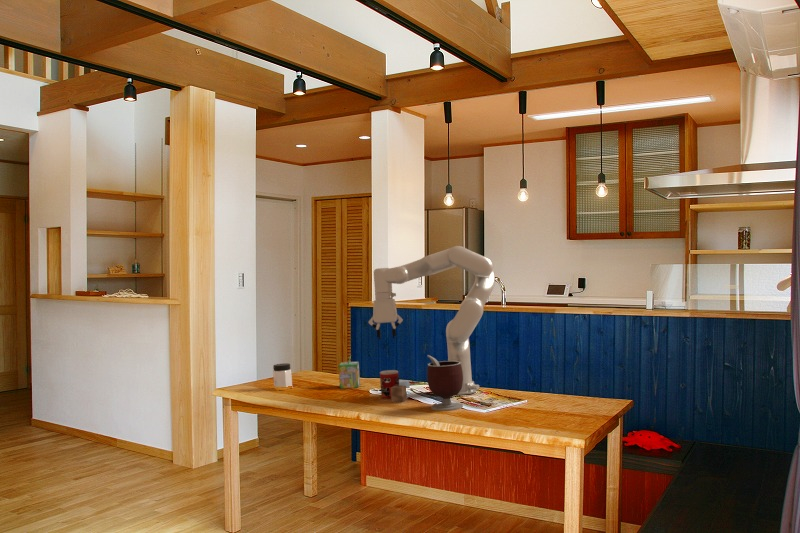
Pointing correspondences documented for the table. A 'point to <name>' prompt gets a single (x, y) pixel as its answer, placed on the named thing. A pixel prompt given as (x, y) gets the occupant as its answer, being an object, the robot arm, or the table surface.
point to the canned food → (388, 382)
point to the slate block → (404, 383)
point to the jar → (282, 375)
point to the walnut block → (398, 393)
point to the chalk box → (349, 374)
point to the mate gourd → (445, 382)
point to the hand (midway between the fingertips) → (386, 338)
